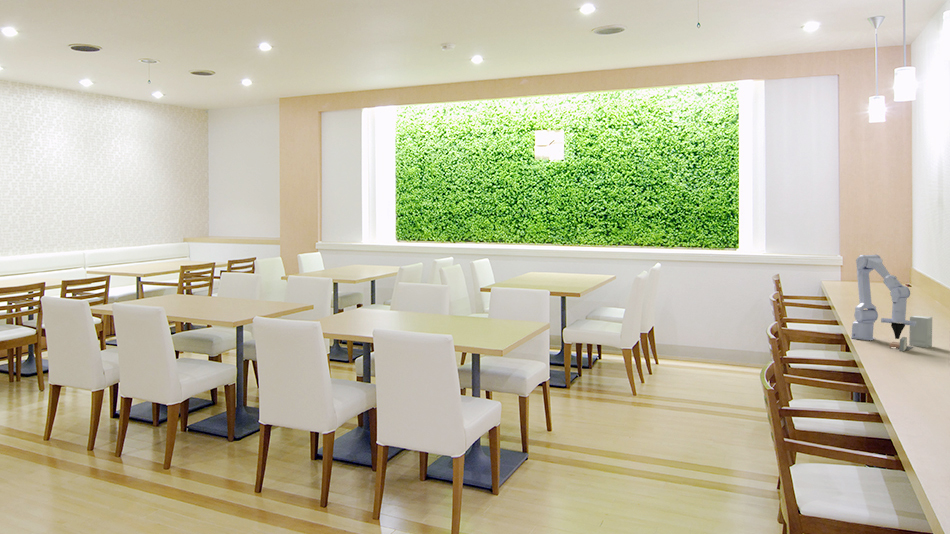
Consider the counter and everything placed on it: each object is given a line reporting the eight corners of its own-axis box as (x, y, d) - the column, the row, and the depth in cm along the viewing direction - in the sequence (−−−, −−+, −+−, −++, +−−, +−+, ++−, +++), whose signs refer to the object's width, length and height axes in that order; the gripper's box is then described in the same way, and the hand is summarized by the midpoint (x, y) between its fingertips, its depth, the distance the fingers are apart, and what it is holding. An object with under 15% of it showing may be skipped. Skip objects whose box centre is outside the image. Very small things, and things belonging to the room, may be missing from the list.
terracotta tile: (890, 343, 329) (904, 345, 324) (893, 341, 333) (907, 343, 329) (889, 346, 329) (903, 348, 325) (892, 345, 333) (906, 346, 329)
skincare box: (932, 346, 331) (934, 317, 330) (926, 348, 328) (928, 318, 326) (913, 343, 338) (915, 314, 336) (907, 345, 335) (909, 315, 333)
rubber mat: (889, 348, 327) (889, 347, 327) (894, 345, 334) (894, 344, 334) (908, 350, 322) (908, 350, 322) (913, 347, 329) (913, 347, 329)
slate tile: (899, 351, 320) (900, 339, 319) (902, 348, 324) (903, 336, 323) (903, 352, 319) (904, 339, 318) (906, 349, 323) (907, 337, 322)
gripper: (880, 310, 330) (878, 337, 331) (914, 313, 320) (912, 341, 321) (883, 308, 335) (882, 335, 336) (917, 312, 325) (915, 339, 326)
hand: (897, 338), depth 329 cm, fingers closed
